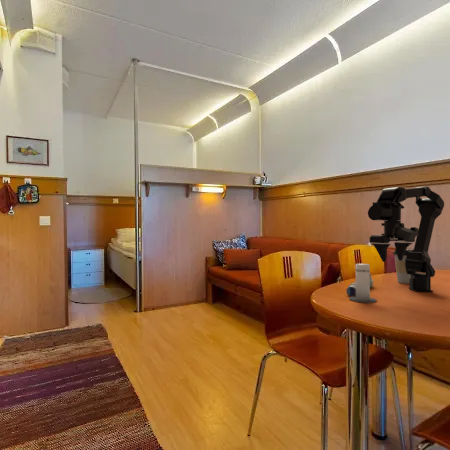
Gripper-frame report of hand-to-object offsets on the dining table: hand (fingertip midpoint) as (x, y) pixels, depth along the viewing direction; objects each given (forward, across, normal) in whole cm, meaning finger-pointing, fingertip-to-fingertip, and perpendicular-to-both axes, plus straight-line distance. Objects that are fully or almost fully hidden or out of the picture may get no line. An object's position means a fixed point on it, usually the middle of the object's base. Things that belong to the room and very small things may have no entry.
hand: (392, 261), depth 118 cm
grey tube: (+14, -4, +12) cm, 18 cm away
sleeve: (+13, -16, 0) cm, 20 cm away
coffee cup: (+13, +28, +14) cm, 34 cm away
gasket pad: (+13, -16, 0) cm, 21 cm away
